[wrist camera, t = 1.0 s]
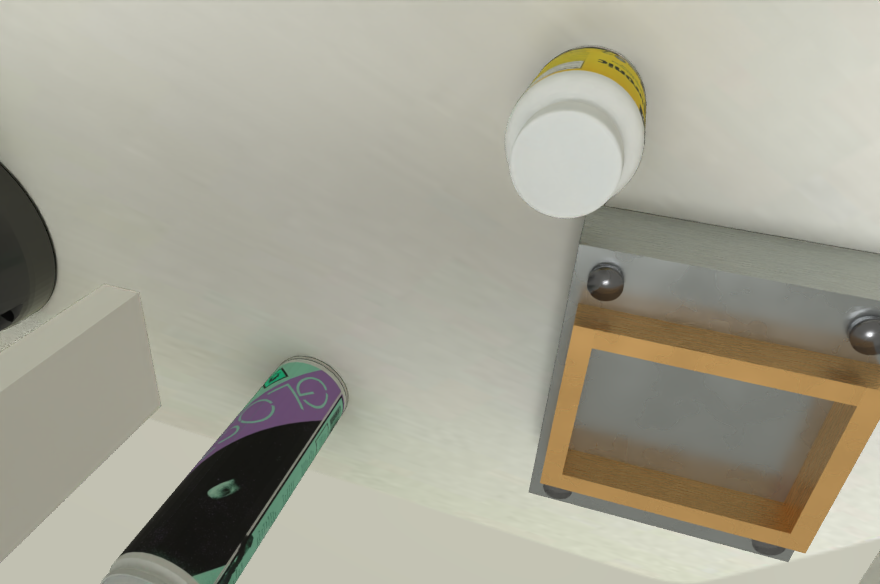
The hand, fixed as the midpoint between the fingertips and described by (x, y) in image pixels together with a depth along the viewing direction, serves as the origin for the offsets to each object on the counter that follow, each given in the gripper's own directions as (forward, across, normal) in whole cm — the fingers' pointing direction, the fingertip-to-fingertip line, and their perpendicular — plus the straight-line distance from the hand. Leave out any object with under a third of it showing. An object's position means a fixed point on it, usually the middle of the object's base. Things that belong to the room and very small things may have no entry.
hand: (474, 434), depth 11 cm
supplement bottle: (+24, 0, 0) cm, 24 cm away
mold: (+24, +8, -13) cm, 28 cm away
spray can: (+24, -15, -22) cm, 36 cm away
